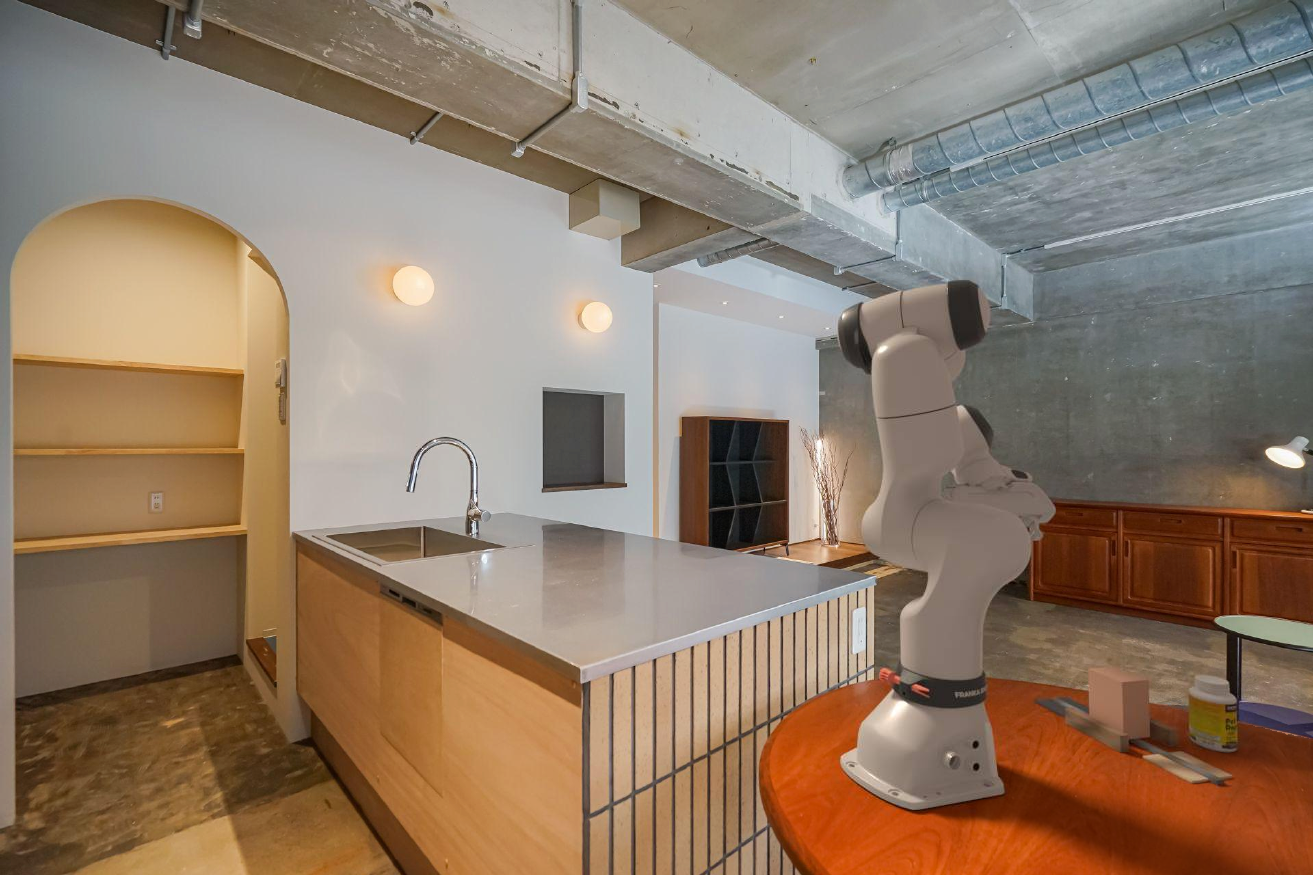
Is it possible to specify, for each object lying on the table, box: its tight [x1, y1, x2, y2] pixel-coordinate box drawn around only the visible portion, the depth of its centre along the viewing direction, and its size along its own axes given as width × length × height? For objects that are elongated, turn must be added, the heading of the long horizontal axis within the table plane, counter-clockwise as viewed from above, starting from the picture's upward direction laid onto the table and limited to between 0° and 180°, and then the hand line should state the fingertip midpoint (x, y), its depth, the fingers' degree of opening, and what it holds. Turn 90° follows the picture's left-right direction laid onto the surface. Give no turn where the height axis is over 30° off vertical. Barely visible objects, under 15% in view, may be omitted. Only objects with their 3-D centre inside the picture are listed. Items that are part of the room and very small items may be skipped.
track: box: [1049, 697, 1225, 786], centre depth 97 cm, size 28×10×2 cm, turn 10°
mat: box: [1142, 750, 1234, 784], centre depth 88 cm, size 7×7×1 cm
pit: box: [1033, 696, 1089, 718], centre depth 108 cm, size 7×7×1 cm
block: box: [1087, 665, 1151, 739], centre depth 98 cm, size 6×5×9 cm
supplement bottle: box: [1188, 674, 1239, 753], centre depth 94 cm, size 6×6×10 cm
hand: (1023, 539), depth 113 cm, fingers open, 5 cm apart
